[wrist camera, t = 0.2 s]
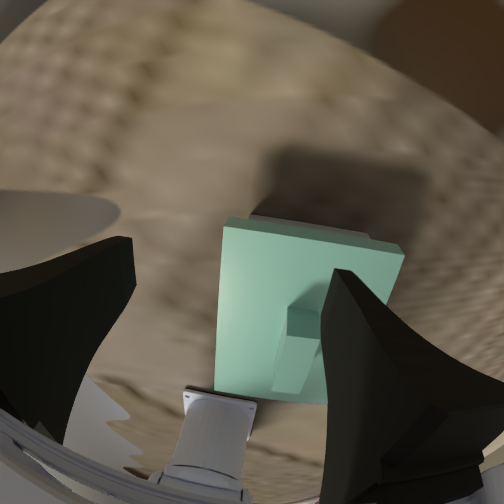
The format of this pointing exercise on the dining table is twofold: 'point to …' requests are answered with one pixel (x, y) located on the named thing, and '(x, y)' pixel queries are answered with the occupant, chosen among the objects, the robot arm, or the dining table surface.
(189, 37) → the dining table surface
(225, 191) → the dining table surface
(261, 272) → the lid
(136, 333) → the dining table surface
